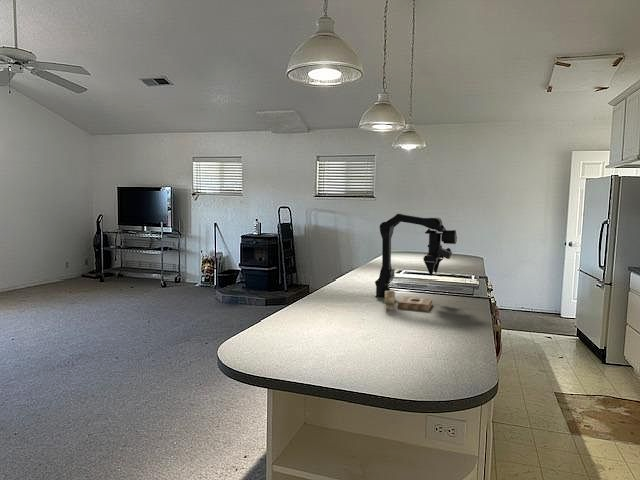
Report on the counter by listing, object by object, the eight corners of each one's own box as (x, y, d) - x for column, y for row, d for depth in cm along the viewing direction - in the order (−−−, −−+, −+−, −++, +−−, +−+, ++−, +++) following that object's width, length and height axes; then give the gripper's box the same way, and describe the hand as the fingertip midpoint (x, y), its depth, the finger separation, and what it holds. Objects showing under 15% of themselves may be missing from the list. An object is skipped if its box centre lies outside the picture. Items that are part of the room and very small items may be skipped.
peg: (383, 310, 208) (383, 292, 207) (385, 308, 212) (386, 290, 212) (393, 311, 206) (393, 293, 205) (395, 309, 211) (395, 291, 210)
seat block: (397, 308, 212) (397, 301, 212) (403, 302, 225) (403, 296, 225) (427, 311, 207) (428, 304, 207) (432, 304, 220) (432, 298, 220)
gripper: (447, 245, 212) (445, 278, 214) (454, 242, 229) (453, 272, 230) (423, 244, 217) (422, 276, 219) (432, 241, 234) (431, 270, 235)
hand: (433, 273), depth 226 cm, fingers open, 9 cm apart
